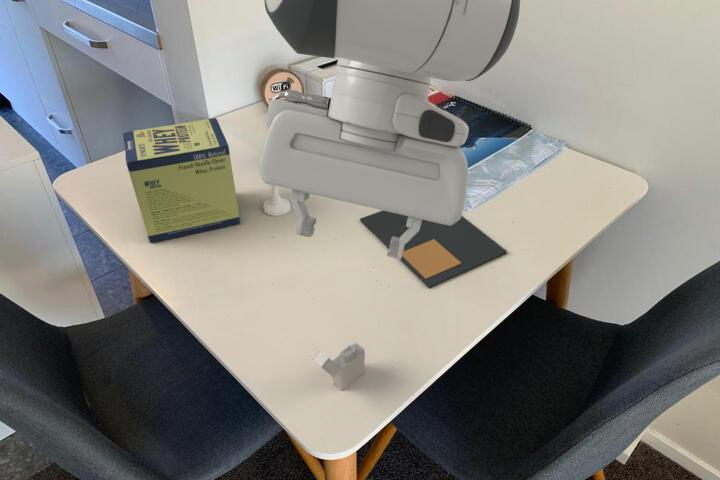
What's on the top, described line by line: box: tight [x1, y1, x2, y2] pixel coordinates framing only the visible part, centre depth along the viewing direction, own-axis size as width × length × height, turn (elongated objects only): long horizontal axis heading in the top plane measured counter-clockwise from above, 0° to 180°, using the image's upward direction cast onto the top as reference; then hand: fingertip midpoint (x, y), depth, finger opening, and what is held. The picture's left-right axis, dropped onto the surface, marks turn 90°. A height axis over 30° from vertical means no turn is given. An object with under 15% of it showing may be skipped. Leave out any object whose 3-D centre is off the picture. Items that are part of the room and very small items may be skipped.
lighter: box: [312, 342, 366, 391], centre depth 63 cm, size 7×2×8 cm, turn 135°
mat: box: [359, 210, 508, 289], centre depth 89 cm, size 20×16×1 cm
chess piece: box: [262, 184, 291, 217], centre depth 92 cm, size 5×5×10 cm
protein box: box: [122, 117, 241, 244], centre depth 88 cm, size 10×16×16 cm
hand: (349, 245), depth 53 cm, fingers open, 8 cm apart
